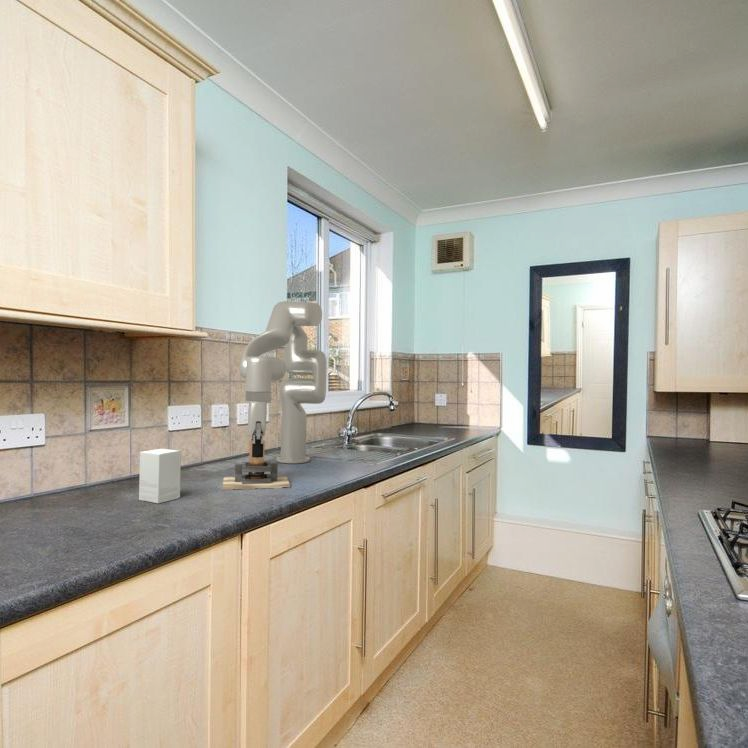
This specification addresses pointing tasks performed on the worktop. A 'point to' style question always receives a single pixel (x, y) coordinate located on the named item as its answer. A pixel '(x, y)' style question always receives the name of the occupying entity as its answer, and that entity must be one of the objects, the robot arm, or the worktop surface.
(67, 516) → the worktop surface
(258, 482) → the collar stand
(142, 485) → the supplement box
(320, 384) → the robot arm
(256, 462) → the tube
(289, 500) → the worktop surface
